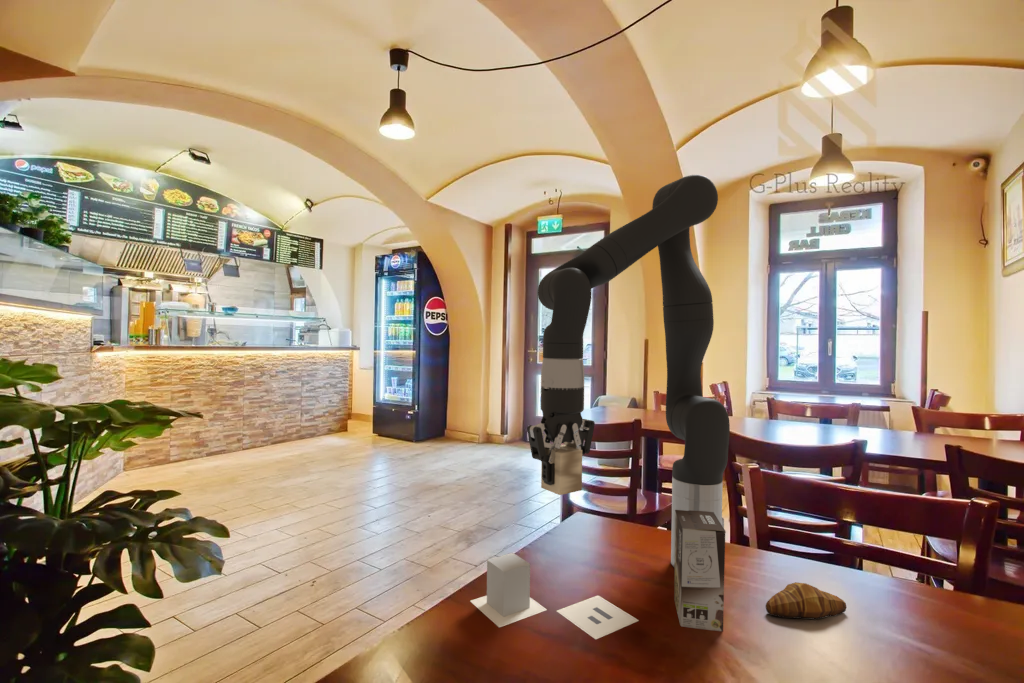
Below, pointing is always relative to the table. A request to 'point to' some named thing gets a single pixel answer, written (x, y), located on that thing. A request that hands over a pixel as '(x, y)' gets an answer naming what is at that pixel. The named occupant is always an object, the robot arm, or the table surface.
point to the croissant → (804, 603)
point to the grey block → (508, 584)
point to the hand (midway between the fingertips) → (561, 480)
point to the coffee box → (699, 569)
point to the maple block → (566, 471)
